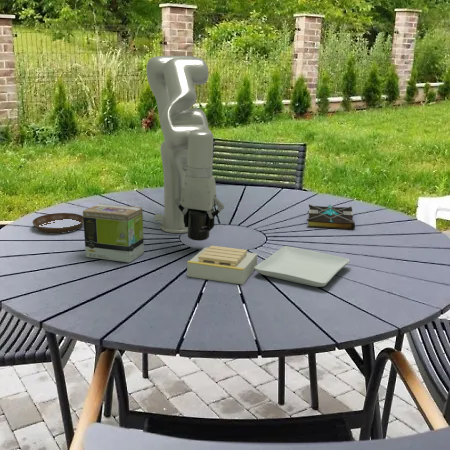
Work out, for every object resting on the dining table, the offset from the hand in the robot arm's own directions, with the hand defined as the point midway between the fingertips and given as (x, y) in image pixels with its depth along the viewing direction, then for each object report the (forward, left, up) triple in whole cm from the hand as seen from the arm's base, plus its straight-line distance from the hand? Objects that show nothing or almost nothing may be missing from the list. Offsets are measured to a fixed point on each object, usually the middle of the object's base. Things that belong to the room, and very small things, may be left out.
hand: (198, 227), depth 177 cm
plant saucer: (-54, +5, -8) cm, 55 cm away
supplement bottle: (0, 0, -4) cm, 4 cm away
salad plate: (+34, -7, -8) cm, 36 cm away
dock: (+13, -14, -8) cm, 21 cm away
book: (+33, +48, -8) cm, 59 cm away
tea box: (-22, -13, -8) cm, 27 cm away
